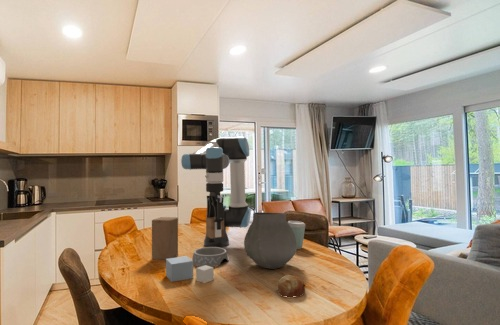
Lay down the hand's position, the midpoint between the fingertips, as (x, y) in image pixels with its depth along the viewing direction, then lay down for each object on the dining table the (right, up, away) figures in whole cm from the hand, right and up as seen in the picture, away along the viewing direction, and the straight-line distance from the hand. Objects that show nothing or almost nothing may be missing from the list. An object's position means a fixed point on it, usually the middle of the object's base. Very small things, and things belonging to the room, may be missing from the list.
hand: (215, 235), depth 136 cm
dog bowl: (-4, -17, +17) cm, 25 cm away
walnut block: (0, 0, 0) cm, 0 cm away
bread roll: (+30, -16, -23) cm, 41 cm away
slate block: (-14, -16, -5) cm, 22 cm away
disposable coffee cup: (+42, -17, +42) cm, 62 cm away
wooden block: (-29, -17, +25) cm, 42 cm away
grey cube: (-3, -16, -9) cm, 19 cm away
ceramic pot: (+25, -16, +8) cm, 31 cm away
